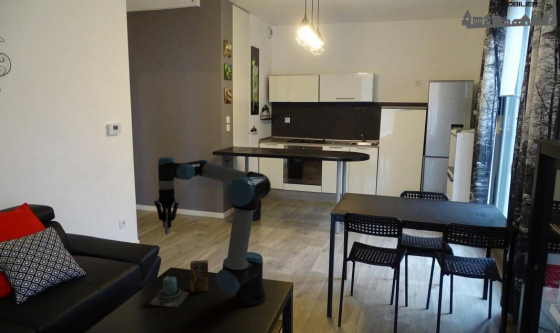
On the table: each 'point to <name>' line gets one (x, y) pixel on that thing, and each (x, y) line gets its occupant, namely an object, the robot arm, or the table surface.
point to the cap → (169, 286)
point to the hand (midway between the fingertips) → (167, 233)
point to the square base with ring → (169, 299)
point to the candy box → (199, 275)
